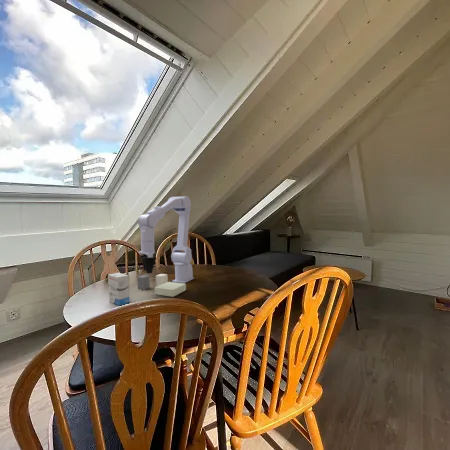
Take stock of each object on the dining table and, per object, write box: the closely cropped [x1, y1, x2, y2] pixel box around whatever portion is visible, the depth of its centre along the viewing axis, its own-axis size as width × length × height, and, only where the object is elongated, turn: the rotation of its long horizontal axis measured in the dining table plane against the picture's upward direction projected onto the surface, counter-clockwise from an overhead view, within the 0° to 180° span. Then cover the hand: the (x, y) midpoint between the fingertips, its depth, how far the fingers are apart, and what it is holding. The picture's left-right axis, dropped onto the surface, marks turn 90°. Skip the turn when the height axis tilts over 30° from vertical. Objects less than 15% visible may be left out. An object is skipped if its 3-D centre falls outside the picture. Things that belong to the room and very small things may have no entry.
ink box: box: [107, 272, 131, 307], centre depth 118 cm, size 8×5×12 cm, turn 48°
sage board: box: [154, 281, 187, 297], centre depth 130 cm, size 10×10×3 cm
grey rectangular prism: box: [136, 274, 151, 291], centre depth 137 cm, size 4×4×6 cm
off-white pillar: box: [155, 273, 169, 287], centre depth 138 cm, size 4×4×6 cm
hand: (147, 271), depth 126 cm, fingers open, 7 cm apart
